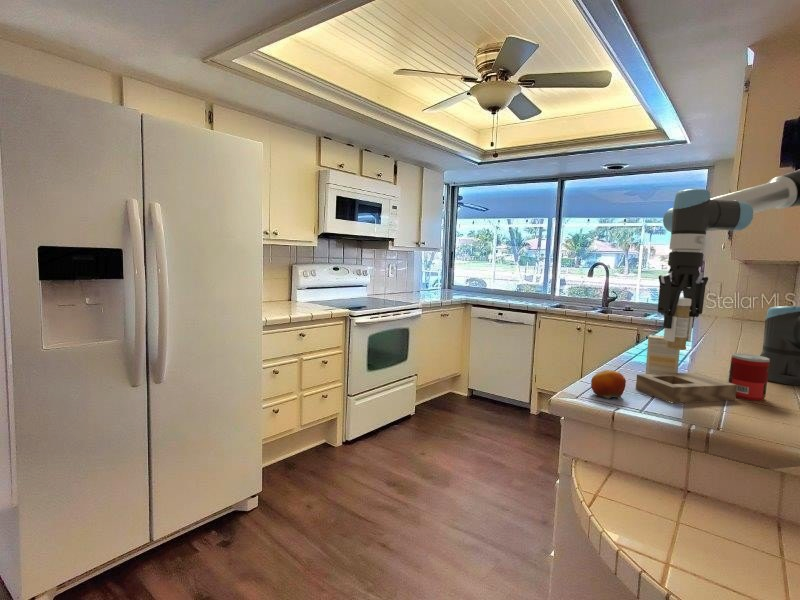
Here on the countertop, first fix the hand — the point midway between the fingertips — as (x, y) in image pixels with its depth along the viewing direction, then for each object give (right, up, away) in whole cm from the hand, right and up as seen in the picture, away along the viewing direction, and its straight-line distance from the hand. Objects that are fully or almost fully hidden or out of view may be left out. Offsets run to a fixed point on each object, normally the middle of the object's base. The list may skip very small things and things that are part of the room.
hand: (676, 340), depth 116 cm
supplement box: (+5, -14, +16) cm, 22 cm away
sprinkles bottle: (0, -2, 0) cm, 2 cm away
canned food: (+20, -15, +2) cm, 25 cm away
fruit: (-19, -14, -2) cm, 24 cm away
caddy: (+3, -15, +2) cm, 15 cm away
